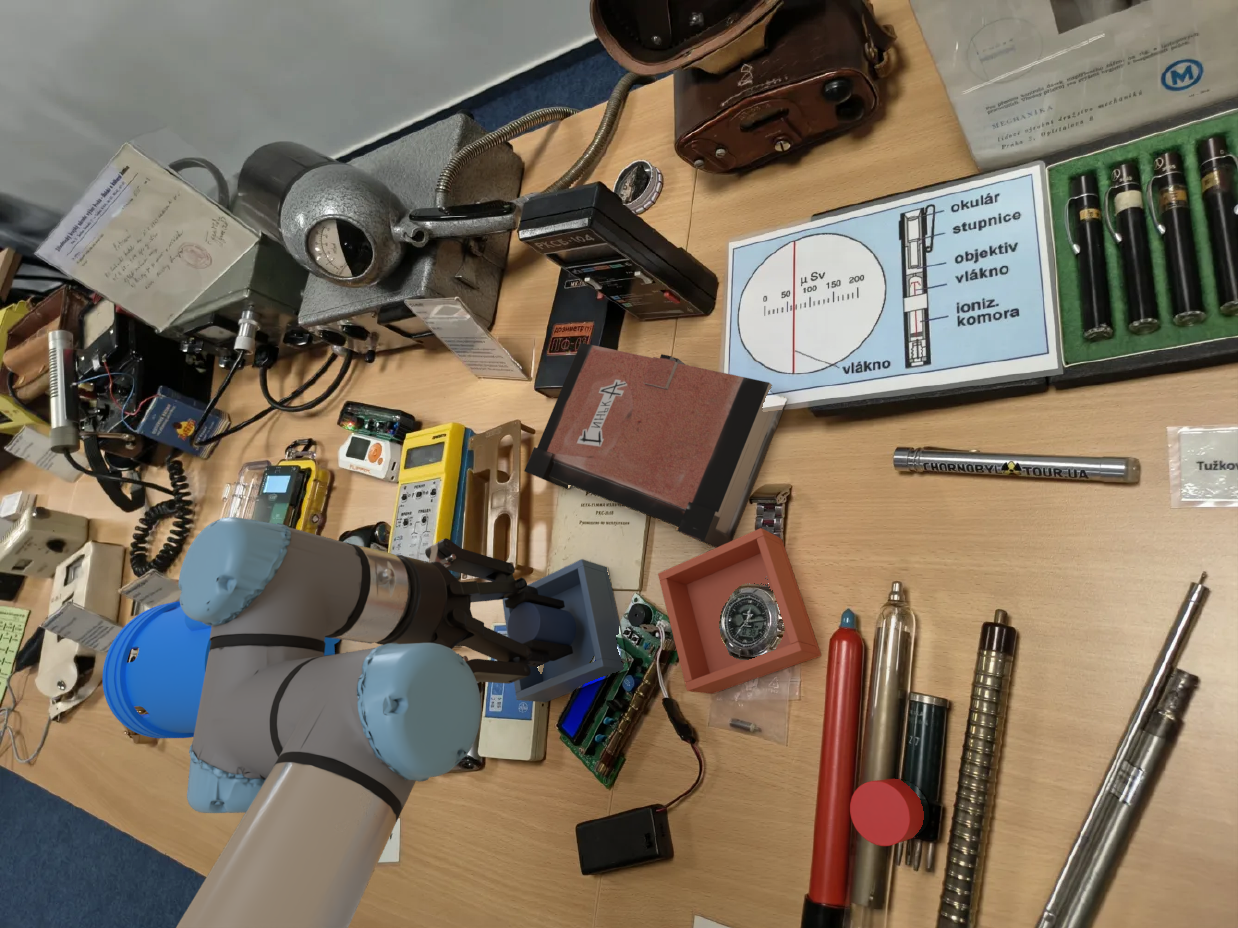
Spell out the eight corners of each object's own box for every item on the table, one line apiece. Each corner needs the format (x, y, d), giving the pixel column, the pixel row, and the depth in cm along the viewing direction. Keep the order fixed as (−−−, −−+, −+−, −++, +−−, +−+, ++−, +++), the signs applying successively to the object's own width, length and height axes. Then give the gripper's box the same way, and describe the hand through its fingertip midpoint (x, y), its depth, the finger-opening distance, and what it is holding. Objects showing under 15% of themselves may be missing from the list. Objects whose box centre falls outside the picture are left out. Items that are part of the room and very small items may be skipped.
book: (790, 392, 77) (770, 374, 74) (727, 551, 76) (704, 541, 72) (604, 352, 94) (580, 335, 90) (551, 482, 93) (524, 471, 89)
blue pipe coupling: (269, 658, 123) (187, 770, 110) (165, 570, 113) (60, 681, 99) (368, 647, 110) (289, 772, 97) (260, 546, 100) (155, 670, 86)
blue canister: (579, 643, 80) (543, 637, 75) (548, 657, 81) (510, 651, 77) (572, 604, 82) (536, 595, 77) (541, 618, 84) (504, 610, 79)
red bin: (821, 655, 68) (801, 650, 64) (711, 694, 73) (686, 691, 69) (782, 538, 73) (761, 527, 70) (682, 581, 78) (657, 573, 74)
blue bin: (630, 669, 79) (603, 665, 75) (545, 702, 84) (516, 700, 80) (607, 567, 84) (581, 558, 80) (529, 603, 89) (501, 596, 85)
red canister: (939, 831, 59) (919, 838, 54) (885, 843, 61) (862, 851, 56) (917, 772, 61) (896, 774, 56) (865, 785, 63) (841, 788, 58)
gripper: (423, 688, 58) (602, 701, 76) (406, 488, 66) (571, 543, 84) (359, 716, 61) (545, 722, 79) (350, 522, 69) (520, 568, 87)
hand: (558, 630), depth 81 cm, fingers closed on blue canister, 4 cm apart
